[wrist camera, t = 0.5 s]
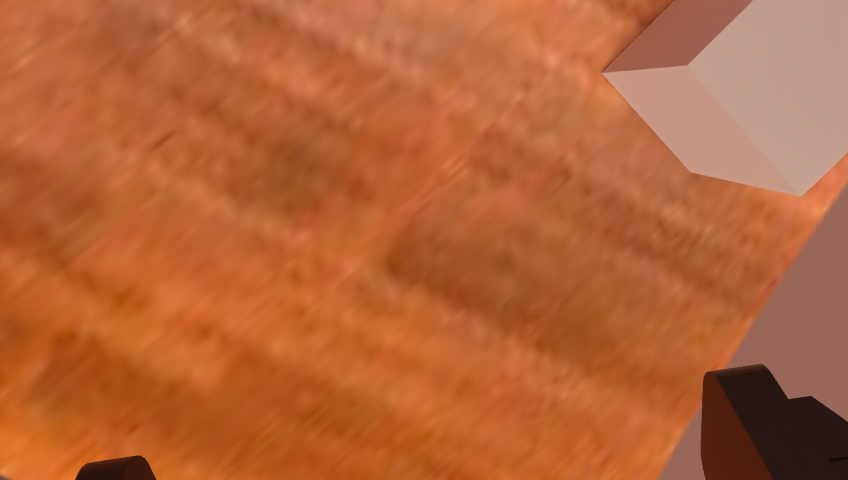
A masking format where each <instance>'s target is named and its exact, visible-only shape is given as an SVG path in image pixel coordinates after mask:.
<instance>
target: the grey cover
mask: <svg viewBox="0 0 848 480" xmlns="http://www.w3.org/2000/svg"><path fill="white" fill-rule="evenodd" d="M602 75H603V76H604V77H605V78H606V79H607V80H608V81H609V82H610V83H611V85H612V86H613V87H614V88H615V89H616V90H617V91H618V92H619V93H620V95H621V96H622V97H623V98H624V99H625V100H626V101H627V102H628V103H629V105H630V106H631V107H632V108H633V109H634V110H635V111H636V112H637V113H638V115H639V116H640V117H641V118H642V119H643V120H644V121H645V122H646V123H647V125H648V126H649V127H650V128H651V129H652V130H653V131H654V132H655V133H656V135H657V136H658V137H659V138H660V139H661V140H662V141H663V142H664V143H665V145H666V146H667V147H668V148H669V149H670V150H671V151H672V152H673V153H674V155H675V156H676V157H677V158H678V159H679V160H680V161H681V162H682V163H683V165H684V166H685V167H686V168H687V169H688V170H689V171H690V172H692V173H697V174H701V175H705V176H710V177H714V178H719V179H723V180H728V181H732V182H737V183H741V184H745V185H750V186H754V187H759V188H763V189H768V190H772V191H777V192H781V193H785V194H790V195H794V196H799V197H802V196H803V195H804V194H805V193H806V192H807V191H808V190H809V189H810V188H811V187H812V186H813V185H814V184H815V183H816V182H817V181H818V180H819V179H820V178H821V177H822V176H824V175H825V174H826V173H827V172H828V171H829V170H830V169H831V168H832V167H833V166H834V165H835V164H836V163H837V162H838V161H839V160H840V159H841V158H842V157H843V156H844V155H845V154H846V153H847V152H848V0H674V1H673V2H672V3H671V4H670V5H669V6H668V7H667V8H666V9H665V10H664V11H663V12H662V13H661V14H660V15H659V16H658V17H657V18H656V19H655V20H654V21H653V22H652V23H651V24H650V25H649V26H648V27H647V28H646V29H645V30H644V31H643V32H642V33H641V34H640V35H639V36H638V37H637V38H636V39H635V40H634V41H633V42H632V43H631V44H630V45H629V46H628V47H627V48H626V49H625V50H624V51H623V52H622V53H621V54H620V55H619V56H618V57H617V58H616V59H615V60H614V61H613V62H612V63H611V64H610V65H609V66H608V67H607V68H606V69H605V70H604V71H603V72H602Z"/></svg>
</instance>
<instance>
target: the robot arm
mask: <svg viewBox="0 0 848 480" xmlns="http://www.w3.org/2000/svg"><path fill="white" fill-rule="evenodd" d="M701 459H702V465H703V470H704V474H705V478H706V480H848V422H847V421H846V420H844V419H843V418H842V417H840V416H839V415H837V414H836V413H835V412H833V411H832V410H830V409H829V408H828V407H826V406H825V405H823V404H822V403H820V402H819V401H817V400H816V399H815V398H813V397H812V396H808V397H800V398H794V399H788V398H787V396H786V395H785V393H784V392H783V390H782V389H781V387H780V386H779V384H778V383H777V381H776V380H775V378H774V377H773V375H772V374H771V372H770V371H769V370H768V369H767V368H766V367H765V366H764V365H762V364H756V365H750V366H743V367H737V368H730V369H723V370H717V371H710V372H707V373H706V374H705V376H704V380H703V398H702V424H701ZM75 480H156V478H155V476H154V474H153V472H152V470H151V468H150V466H149V464H148V462H147V461H146V460H145V458H143V457H142V456H131V457H125V458H118V459H111V460H105V461H98V462H91V463H87V464H85V465H84V466H83V467H82V468H81V469H80V471H79V473H78V475H77V477H76V479H75Z"/></svg>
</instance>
